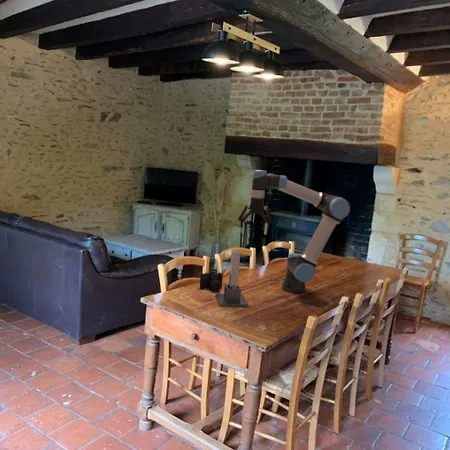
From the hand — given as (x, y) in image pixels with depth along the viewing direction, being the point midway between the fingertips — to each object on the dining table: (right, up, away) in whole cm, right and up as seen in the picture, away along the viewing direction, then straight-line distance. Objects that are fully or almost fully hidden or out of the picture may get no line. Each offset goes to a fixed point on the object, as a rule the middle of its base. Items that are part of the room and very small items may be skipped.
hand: (253, 233), depth 243 cm
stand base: (-13, -38, -8) cm, 41 cm away
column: (-12, -30, -9) cm, 34 cm away
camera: (-25, -34, +9) cm, 43 cm away
